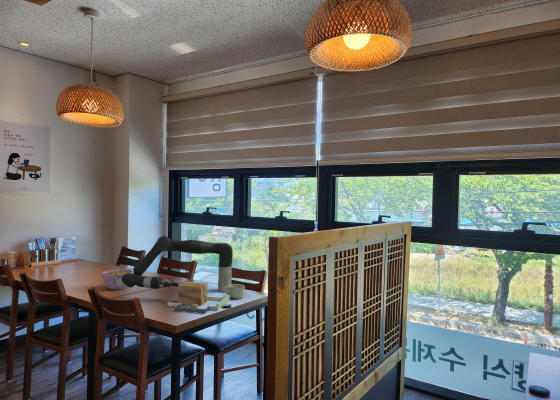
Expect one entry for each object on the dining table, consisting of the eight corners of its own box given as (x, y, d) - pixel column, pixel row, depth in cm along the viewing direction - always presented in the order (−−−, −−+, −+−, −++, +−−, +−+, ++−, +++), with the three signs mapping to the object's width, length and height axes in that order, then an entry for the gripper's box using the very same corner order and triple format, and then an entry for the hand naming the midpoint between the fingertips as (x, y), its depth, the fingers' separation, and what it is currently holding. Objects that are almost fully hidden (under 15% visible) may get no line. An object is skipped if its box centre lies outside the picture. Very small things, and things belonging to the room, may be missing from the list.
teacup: (244, 295, 258) (245, 284, 258) (243, 300, 247) (244, 287, 247) (224, 295, 258) (224, 283, 258) (222, 299, 247) (222, 287, 247)
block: (184, 300, 244) (185, 281, 244) (207, 302, 241) (207, 282, 241) (177, 304, 234) (178, 284, 234) (200, 306, 231) (201, 286, 231)
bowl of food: (121, 293, 257) (121, 275, 257) (95, 290, 261) (95, 273, 261) (138, 286, 277) (138, 270, 276) (113, 284, 281) (113, 268, 280)
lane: (182, 297, 250) (182, 291, 250) (229, 301, 244) (229, 294, 244) (161, 309, 222) (161, 302, 222) (213, 314, 216) (213, 307, 216)
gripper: (147, 278, 236) (173, 280, 233) (158, 274, 249) (183, 276, 246) (146, 290, 236) (173, 293, 233) (157, 286, 249) (182, 288, 246)
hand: (178, 284), depth 239 cm, fingers closed
